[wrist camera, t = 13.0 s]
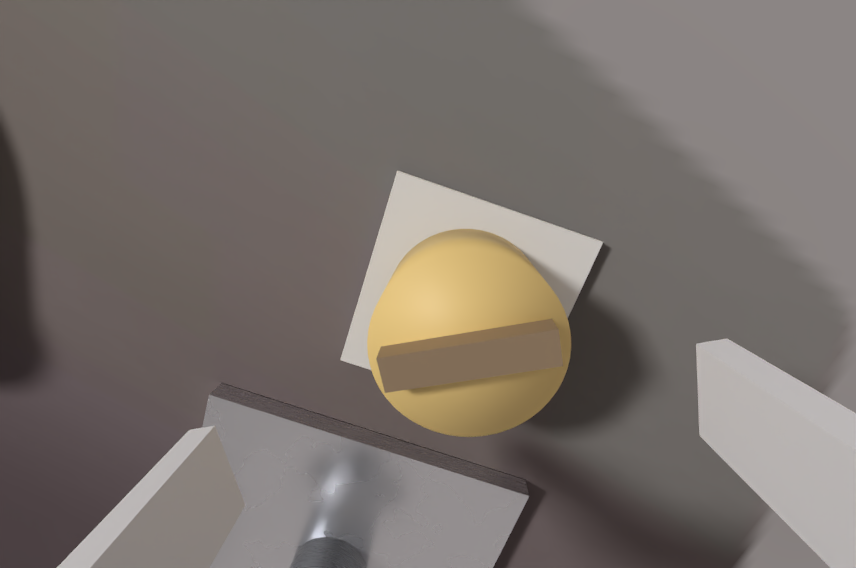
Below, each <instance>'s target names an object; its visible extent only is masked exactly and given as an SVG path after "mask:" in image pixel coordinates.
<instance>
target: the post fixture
mask: <svg viewBox="0 0 856 568" xmlns="http://www.w3.org/2000/svg"><path fill="white" fill-rule="evenodd" d="M210 426H215V427H216V430H217V432H218V435H219V438H220V440H221V443H222V445H223V448H224V451H225V453H226V456H227V458H228V461H229V464H230V466H231V469H232V471H233V474H234V477H235V479H236V482H237V484H238V487H239V490H240V492H241V495H242V497H243V500H244V503H245V507H244V509H243V510H242V512H241V514H240V516H239V517H238V519H237V521H236V523H235V524H234V526H233V528H232V530H231V531H230V533H229V535H228V536H227V538H226V540H225V542H224V543H223V545H222V547H221V549H220V550H219V552H218V554H217V556H216V557H215V559H214V561H213V562H212V564H211V566H210V568H493V567H494V565H495V563H496V561H497V559H498V557H499V555H500V553H501V551H502V549H503V547H504V545H505V543H506V541H507V539H508V537H509V535H510V533H511V531H512V529H513V527H514V525H515V523H516V521H517V519H518V517H519V516H520V514H521V512H522V510H523V508H524V506H525V504H526V502H527V500H528V498H529V493H528V489H527V485H526V480H524V479H521V478H517V477H514V476H511V475H508V474H505V473H502V472H499V471H495V470H492V469H489V468H486V467H483V466H480V465H477V464H473V463H470V462H467V461H464V460H461V459H458V458H455V457H451V456H448V455H445V454H442V453H439V452H436V451H433V450H430V449H426V448H423V447H420V446H417V445H414V444H411V443H408V442H404V441H401V440H398V439H395V438H392V437H389V436H386V435H382V434H379V433H376V432H373V431H370V430H367V429H364V428H361V427H357V426H354V425H351V424H348V423H345V422H342V421H339V420H335V419H332V418H329V417H326V416H323V415H320V414H317V413H313V412H310V411H307V410H304V409H301V408H298V407H295V406H291V405H288V404H285V403H282V402H279V401H276V400H273V399H270V398H266V397H263V396H260V395H257V394H254V393H251V392H248V391H244V390H241V389H238V388H235V387H232V386H229V385H226V384H222V383H221V384H220V385H219V386H218V387H217V388H216V389H215V390H214V391H212V392H211V393H210V394H209V398H208V403H207V408H206V413H205V418H204V422H203V427H202V428H204V427H210Z"/></svg>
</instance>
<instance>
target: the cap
mask: <svg viewBox="0 0 856 568" xmlns="http://www.w3.org/2000/svg"><path fill="white" fill-rule="evenodd" d="M367 349H368V358H369V363H370V367H371V370H372V373H373V376H374V378H375V380H376V382H377V384H378V386H379V388H380V390H381V391H382V393H383V394H384V396H385V397H386V398H387V399H388V401H389V402H390V403H391V404H392V405H393V406H394V407H395V408H396V409H397V410H398V411H399V412H401V413H402V414H403V415H404V416H406V417H407V418H409V419H410V420H411V421H413V422H415V423H417V424H419V425H421V426H422V427H425V428H427V429H430V430H432V431H435V432H439V433H443V434H446V435H453V436H461V437H476V436H486V435H491V434H496V433H500V432H503V431H506V430H509V429H511V428H513V427H516V426H518V425H520V424H522V423H523V422H525V421H527V420H528V419H530V418H531V417H533V416H534V415H535V414H536V413H538V412H539V411H540V410H541V409H542V408H543V407H544V406H545V405H546V404H547V403H548V402H549V401H550V400H551V398H552V397H553V396H554V395H555V393H556V392H557V390H558V388H559V387H560V385H561V383H562V381H563V379H564V376H565V374H566V372H567V368H568V364H569V360H570V353H571V332H570V327H569V322H568V319H567V316H566V313H565V310H564V308H563V306H562V304H561V302H560V300H559V298H558V297H557V295H556V294H555V293H554V291H553V290H552V288H551V287H550V286H549V285H548V283H547V282H546V281H545V280H544V278H543V277H542V276H541V274H540V273H539V272H538V271H537V269H536V268H535V267H534V266H533V264H532V263H531V262H530V261H529V259H528V258H527V257H526V256H525V255H524V254H523V253H522V252H521V250H520V249H518V248H517V247H516V246H515V245H513V244H512V243H511V242H509V241H507V240H506V239H504V238H502V237H500V236H498V235H495V234H493V233H490V232H486V231H483V230H476V229H454V230H448V231H444V232H440V233H438V234H435V235H433V236H430V237H428V238H427V239H425V240H423V241H421V242H420V243H418V244H417V245H416V246H415V247H413V248H412V249H411V250H410V251H409V252H408V253H407V254H406V255H405V256H404V257H403V259H402V260H401V261H400V263H399V264H398V266H397V268H396V269H395V271H394V273H393V275H392V277H391V279H390V281H389V282H388V284H387V286H386V288H385V290H384V292H383V294H382V295H381V297H380V299H379V301H378V303H377V305H376V307H375V309H374V312H373V314H372V317H371V320H370V325H369V329H368V338H367Z"/></svg>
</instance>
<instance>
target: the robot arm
mask: <svg viewBox="0 0 856 568" xmlns="http://www.w3.org/2000/svg"><path fill="white" fill-rule="evenodd" d="M696 353H697V380H698V407H699V434H700V436H701V437H702V438H703V439H704V440H705V442H706V443H707V444H708V445H709V446H710V447H711V448H712V449H713V450H714V451H715V452H716V453H717V454H718V455H719V456H720V457H721V458H722V459H723V460H724V461H725V462H726V463H727V464H728V465H729V466H730V467H731V468H732V469H733V470H734V471H735V472H736V473H737V474H738V475H739V476H740V477H741V478H742V479H743V480H744V481H745V482H746V483H747V484H748V485H749V486H750V487H751V488H752V489H753V490H754V491H755V492H756V493H757V494H758V495H759V496H760V497H761V498H762V499H763V500H764V501H765V502H766V503H767V504H768V505H769V506H770V507H771V508H772V509H773V510H774V511H775V512H776V513H777V514H778V515H779V516H780V517H781V518H782V519H783V520H784V521H785V522H786V523H787V524H788V525H789V526H790V528H791V529H792V530H793V531H794V532H795V533H796V534H797V535H798V536H799V537H800V538H801V539H802V540H803V541H804V542H805V543H806V544H807V545H808V546H809V547H810V548H811V549H813V551H814V552H815V553H816V554H817V555H818V556H819V557H820V558H821V559H822V560H823V561H824V562H825V563H826V564H827V565H828V566H829V567H830V568H856V413H854V412H853V411H851V410H849V409H848V408H845V407H844V406H842V405H840V404H839V403H837V402H835V401H834V400H832V399H830V398H829V397H827V396H825V395H823V394H822V393H820V392H818V391H817V390H815V389H813V388H811V387H810V386H808V385H806V384H804V383H803V382H801V381H799V380H798V379H796V378H794V377H792V376H791V375H789V374H787V373H785V372H784V371H782V370H780V369H779V368H777V367H775V366H773V365H772V364H770V363H768V362H767V361H765V360H763V359H761V358H760V357H758V356H756V355H754V354H753V353H751V352H749V351H748V350H746V349H744V348H742V347H741V346H739V345H737V344H736V343H734V342H732V341H730V340H729V339H722V340H716V341H710V342H704V343H698V344H696ZM244 507H245V503H244V500H243V497H242V495H241V492H240V490H239V487H238V484H237V482H236V479H235V477H234V474H233V471H232V469H231V466H230V464H229V461H228V458H227V456H226V453H225V451H224V448H223V445H222V443H221V440H220V438H219V435H218V432H217V430H216V427H215V426H210V427H204V428H198V429H192V430H189V431H188V432H187V433H186V434H185V435H184V436H183V437H182V438H181V439H180V440H179V441H178V442H177V443H176V444H175V445H174V446H173V447H172V448H171V450H170V451H169V452H168V453H167V454H166V455H165V456H164V457H163V458H162V459H161V460H160V461H159V462H158V463H157V464H156V465H155V466H154V467H153V468H152V469H151V470H150V471H149V472H148V473H147V475H146V476H145V477H144V478H143V479H142V480H141V481H140V482H139V483H138V484H137V485H136V486H135V487H134V488H133V489H132V490H131V491H130V492H129V493H128V494H127V495H126V496H125V497H124V498H123V499H122V501H121V502H120V503H119V504H118V505H117V506H116V507H115V508H114V509H113V510H112V511H111V512H110V513H109V514H108V515H107V516H106V517H105V518H104V519H103V520H102V521H101V522H100V523H99V524H98V525H97V527H96V528H95V529H94V530H93V531H92V532H91V533H90V534H89V535H88V536H87V537H86V538H85V539H84V540H83V541H82V542H81V543H80V544H79V545H78V546H77V547H76V548H75V549H74V550H73V552H72V553H71V554H70V555H69V556H68V557H67V558H66V559H65V560H64V561H63V562H62V563H61V564H60V565H59V566H58V567H57V568H210V566H211V564H212V562H213V561H214V559H215V557H216V556H217V554H218V552H219V550H220V549H221V547H222V545H223V543H224V542H225V540H226V538H227V536H228V535H229V533H230V531H231V530H232V528H233V526H234V524H235V523H236V521H237V519H238V517H239V516H240V514H241V512H242V510H243V509H244Z"/></svg>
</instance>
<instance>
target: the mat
mask: <svg viewBox="0 0 856 568" xmlns="http://www.w3.org/2000/svg"><path fill="white" fill-rule="evenodd" d="M454 229H476V230H483V231H486V232H490V233H493V234H495V235H498V236H500V237H502V238H504V239H506V240H507V241H509V242H511V243H512V244H513V245H515V246H516V247H517V248H518V249H520V250H521V252H522V253H523V254H524V255H525V256H526V257H527V258H528V259H529V261H530V262H531V263H532V264H533V266H534V267H535V268H536V269H537V271H538V272H539V273H540V274H541V276H542V277H543V278H544V280H545V281H546V282H547V283H548V285H549V286H550V287H551V288H552V290H553V291H554V293H555V294H556V295H557V297H558V298H559V300H560V302H561V304H562V306H563V308H564V310H565V313H566V316H567V319H568V317H569V315H570V312H571V310H572V308H573V306H574V304H575V302H576V300H577V297H578V295H579V293H580V291H581V289H582V287H583V285H584V282H585V280H586V278H587V276H588V274H589V272H590V270H591V267H592V265H593V263H594V261H595V259H596V257H597V255H598V252H599V250H600V248H601V246H602V244H603V242H602V241H600V240H597V239H595V238H592V237H589V236H586V235H583V234H580V233H577V232H574V231H571V230H569V229H566V228H563V227H560V226H557V225H554V224H551V223H548V222H546V221H543V220H540V219H537V218H534V217H531V216H528V215H525V214H522V213H520V212H517V211H514V210H511V209H508V208H505V207H502V206H499V205H497V204H494V203H491V202H488V201H485V200H482V199H479V198H476V197H473V196H471V195H468V194H465V193H462V192H459V191H456V190H453V189H450V188H448V187H445V186H442V185H439V184H436V183H433V182H430V181H427V180H425V179H422V178H419V177H416V176H413V175H410V174H407V173H404V172H401V171H397V174H396V177H395V180H394V184H393V187H392V190H391V194H390V197H389V200H388V204H387V207H386V210H385V214H384V217H383V220H382V224H381V227H380V230H379V234H378V237H377V240H376V244H375V247H374V250H373V254H372V257H371V260H370V264H369V267H368V270H367V273H366V277H365V280H364V283H363V287H362V290H361V293H360V297H359V300H358V303H357V307H356V310H355V313H354V317H353V320H352V323H351V327H350V330H349V333H348V337H347V340H346V343H345V347H344V350H343V353H342V356H341V360H342V361H345V362H348V363H351V364H354V365H357V366H360V367H363V368H366V369H370V370H371V367H370V363H369V358H368V349H367V338H368V329H369V325H370V320H371V317H372V314H373V312H374V309H375V307H376V305H377V303H378V301H379V299H380V297H381V295H382V294H383V292H384V290H385V288H386V286H387V284H388V282H389V281H390V279H391V277H392V275H393V273H394V271H395V269H396V268H397V266H398V264H399V263H400V261H401V260H402V259H403V257H404V256H405V255H406V254H407V253H408V252H409V251H410V250H411V249H412V248H413V247H415V246H416V245H417V244H418V243H420V242H421V241H423V240H425V239H427V238H428V237H430V236H433V235H435V234H438V233H440V232H444V231H448V230H454Z"/></svg>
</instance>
